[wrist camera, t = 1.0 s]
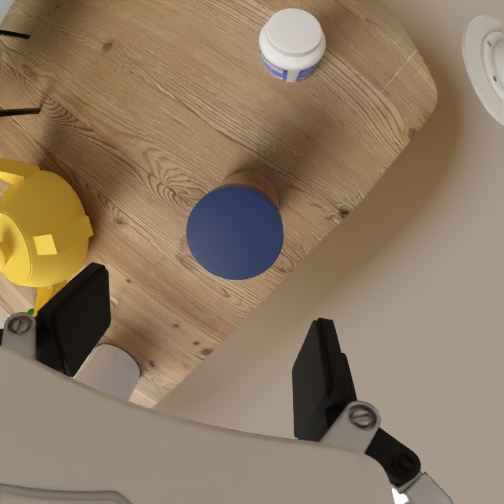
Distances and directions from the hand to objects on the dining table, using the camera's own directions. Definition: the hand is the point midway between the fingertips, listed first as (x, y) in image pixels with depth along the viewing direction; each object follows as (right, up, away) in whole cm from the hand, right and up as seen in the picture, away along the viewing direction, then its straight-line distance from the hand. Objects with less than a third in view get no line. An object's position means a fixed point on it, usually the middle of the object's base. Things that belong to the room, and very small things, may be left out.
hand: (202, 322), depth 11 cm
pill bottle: (+6, +22, +13) cm, 27 cm away
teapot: (-26, +7, +22) cm, 35 cm away
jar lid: (+1, +4, +10) cm, 10 cm away
